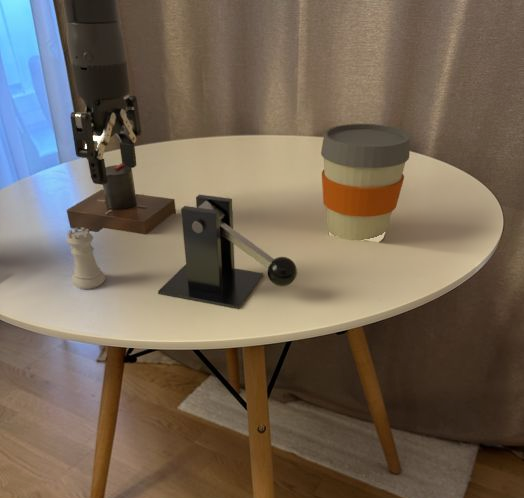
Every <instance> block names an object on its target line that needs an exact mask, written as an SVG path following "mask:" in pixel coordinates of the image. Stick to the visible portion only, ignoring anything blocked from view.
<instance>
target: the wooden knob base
mask: <svg viewBox="0 0 524 498" xmlns="http://www.w3.org/2000/svg"><path fill="white" fill-rule="evenodd" d="M135 195H136V202H137V203H136V205H135V206H133V207H130V208H127V209H111V208H108V207H107V206H106V201H105V195H104V189H103V188H102V189H100V190H98V191H97V192H95V193H93V194H91V195H90V196H88V197H86V198H84V199H83V200H81V201H79V202H78V203H76V204H74V205H73V206H71V207H70V208H67V209H66V214H67V219H68V224H69V227H70V228H71V229H74V228H77V229H78V230H81V227H82V228H85V229H88V230H89V232H95V233H96V232H97V233H98V232H100V231H101V230H102V229H107V230H114V231H120V232H128V233H133V234H140V235H148V234H149V233H150V232H151V231H153V230H154V229H156V227H157V226H159V225H160V224H162V223H163V222H164V221H166V220H167V219H168V218H169V217H171V216H172V215H173V214H174V215H176V214H177V210H176V200H175V198H168V197H163V196H162V197H161V196H154V195H147V194H141V193H140V194H139V193H135Z"/></svg>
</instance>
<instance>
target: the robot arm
mask: <svg viewBox="0 0 524 498" xmlns="http://www.w3.org/2000/svg"><path fill="white" fill-rule="evenodd" d="M61 1H62V6H63V13H64V18H65V26H66V41H67V48H68V53H69V59H70V66H71V72H72V76H73V83H74V88H75V93H76V95H77V96H78V97H79V98H81V99H82V100H83V102H84V110H83V111H82V112H80V111H79V112H78V111H71V113H70V124H71V130H72V138H73V144H74V150H75V156H76V157H77V158H84V159H86V160H87V162H88V168H89V173H90V174H89V175H90V179H91V181H92V183H93V184H95V185H102V186H103V185H104V184H106V183H107V175H106V168H105V167H106V162H105V158H104V153H105V149H106V146H108V145H110V141H111V140H110V139H111V138H112V137H114V135H115V136H116V138H117V139H118V140H119V149H120V157H121V163H124V164H125V166H129V167H131V168H132V169H134V168H135V167H137V156H136V148H135V143H136V142H137V137H140V136H141V135H142V126H141V120H140V114H139V112H140V111H139V105H138V99H137V96H136V95H129V94H130V92H131V88H130V80H129V72H128V71H129V70H128V63H127V55H126V47H125V40H124V39H125V38H124V35H123V32H122V27H121V26H122V25H121V22H120V13H119V5H118V0H61ZM131 121H132V122H133V125H132V123H131ZM94 133H95V135H94ZM83 141H84V142H85V145H83ZM95 144H96V147H95ZM83 146H84V147H83ZM95 148H96V149H95Z"/></svg>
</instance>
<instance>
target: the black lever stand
mask: <svg viewBox="0 0 524 498" xmlns="http://www.w3.org/2000/svg"><path fill="white" fill-rule="evenodd" d="M205 201H208V202H209V203H210V204H212V205H213V206H215V207H216V208H217V209H219V210H220V211H221V212H223V213H224V214H225V215H224V217H223V219H222V221H223V222H224V223H225V224H227V225H228V226H229V227H231V228H232V229H234V216H233V212H234V211H233V199H232V198H229V197H221V196H213V195H206V194H198V195H197V196H195V203H196V207H195V206H188V205H184V206H182V207H180V213H181V214H180V215H181V224H182V235H183V246H184V247H183V248H184V255H185V264H184V265H183V266H182V267H181V268H180V269H179V270H178V271H177V272H175V274H174V275H173V276H172V277H171V278H170V279H169V280H168V281H167V282H165V284H164V285H162V286H161V287H160V289H158V291H157V294H158V295H161V296H166V297H171V298H177V299H182V300H188V301H193V302H198V303H203V304H209V305H214V306H219V307H224V308H229V309H233V310H234V309H235V310H239V309H241V307H242V306H243V304H244V303H245V302H246V300H247V299H248V298H249V296H250V295H251V294H252V292H253V291H254V290H255V288H256V287H257V286H258V284H260V282H261V280H262V279H263V278H264V276H265V275H264V272H258V271H252V270H245V269H239V268H236V267H235V266H236V265H235V244H233V243H232V242H231V241H229V240H228V239H226V238H225V237H224V236H222V235H221V234H220V222H219V211H218V210H211V209H204V208H198V207H199V206H200V205H201V204H203V203H204V202H205Z"/></svg>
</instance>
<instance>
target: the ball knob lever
mask: <svg viewBox="0 0 524 498" xmlns="http://www.w3.org/2000/svg"><path fill="white" fill-rule="evenodd" d="M198 208H204V209H211V210H218V211H219V222H220V234H221V235H222V236H224V237H225V238H226V239H228V240H229V241H231V242H232V243H233V244H234V246H236V247H237V248H239V249H240V250H241V251H243V252H244V253H246V254H247V255H248V256H250V257H251V258H253V259H254V260H255V261H256V262H258V263H260V264H261V265H263V266H264V267H265V268H266V269H267V270H266V271H267V272H266V273H267V277H268V280H269V281H270V282H271V283H272V284H273V285H274V286H276V287H281V288H283V287H288V286H290V285H291V284H293V283H294V282H295V280H296V278H297V275H298V268H297V265H296V263H295V262H294V261H293V260H292V259H291V258H289V257H287V256H278V257H275V258H273V257H272V256H271V255H269V254H268V253H267V252H266V251H264V250H263V249H261V248H260V247H258V246H257V245H256V244H254V243H253V242H252V241H250V240H249V239H247V238H246V237H245V236H244V235H242V234H240V233H239V232H238V231H237V230H235V229H234V228H233V229H232V228H231V227H229V226H228V225H227V224H225V223H224V222H223V221H222V219H223V217H224V215H225V214H224V213H223V212H221V211H220V210H219V209H217V208H216V207H215V206H213V205H212V204H210V203H209V202H208V201H205V202H204V203H203V204H201V205H200V206H199V207H198Z"/></svg>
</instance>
